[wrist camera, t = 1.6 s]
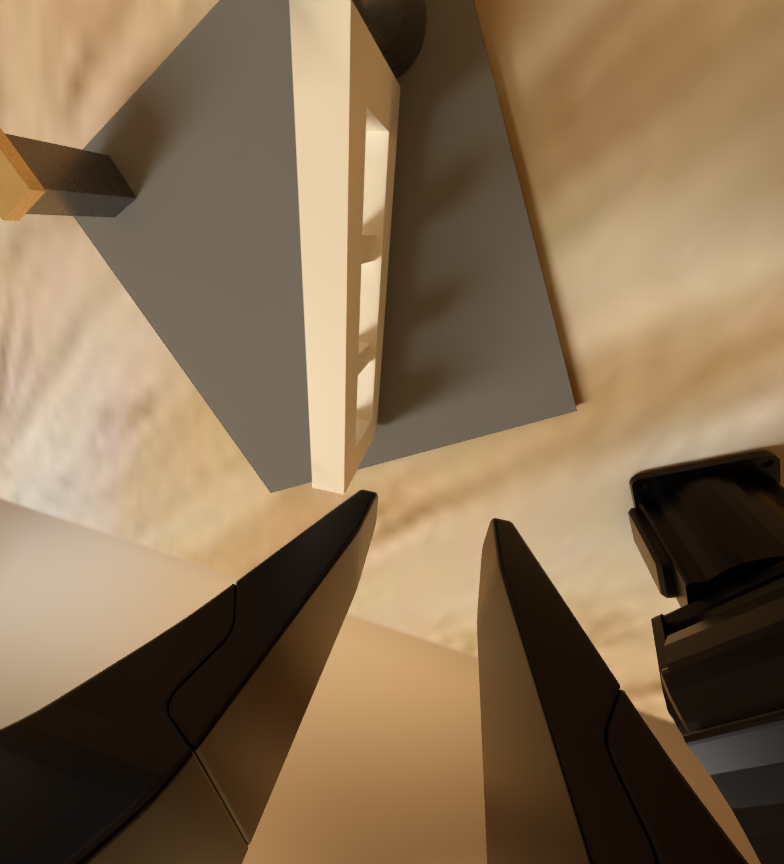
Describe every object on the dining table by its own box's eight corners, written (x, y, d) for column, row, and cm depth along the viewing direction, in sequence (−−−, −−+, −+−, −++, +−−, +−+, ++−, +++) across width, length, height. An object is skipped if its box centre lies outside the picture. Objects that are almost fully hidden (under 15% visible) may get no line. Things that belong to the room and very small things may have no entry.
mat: (421, -200, 11) (418, -217, 10) (574, 406, 19) (576, 410, 18) (60, 185, 19) (50, 184, 19) (273, 488, 27) (270, 492, 27)
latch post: (117, 150, 18) (-23, 118, 13) (149, 201, 19) (30, 189, 14) (92, 176, 19) (-48, 156, 14) (123, 223, 19) (2, 220, 15)
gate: (361, 86, 14) (288, -2, 9) (400, 87, 13) (350, -2, 8) (352, 428, 22) (312, 487, 17) (376, 432, 21) (343, 494, 16)
